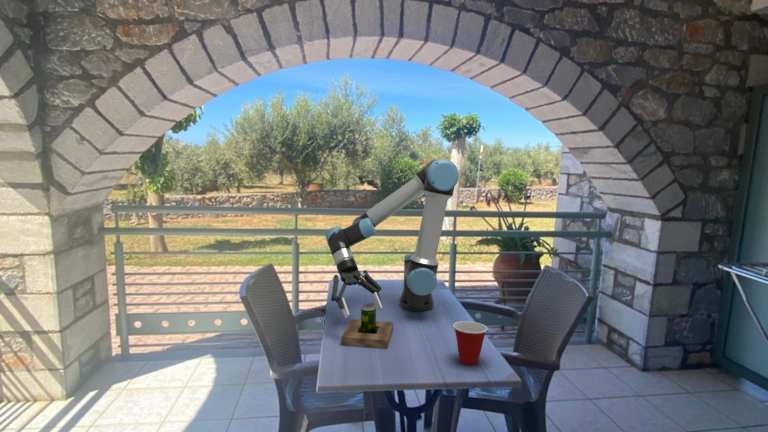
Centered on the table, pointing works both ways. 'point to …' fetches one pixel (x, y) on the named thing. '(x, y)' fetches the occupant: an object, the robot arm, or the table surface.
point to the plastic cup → (469, 340)
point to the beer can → (368, 318)
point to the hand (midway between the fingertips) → (364, 312)
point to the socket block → (367, 335)
